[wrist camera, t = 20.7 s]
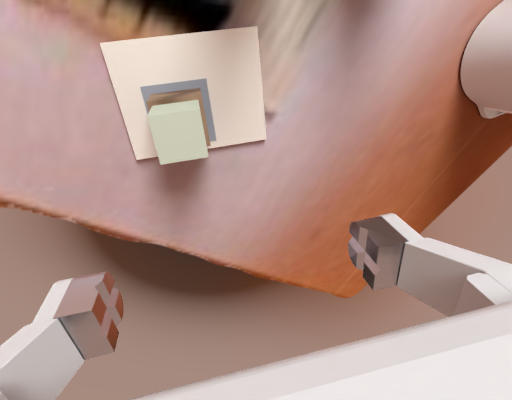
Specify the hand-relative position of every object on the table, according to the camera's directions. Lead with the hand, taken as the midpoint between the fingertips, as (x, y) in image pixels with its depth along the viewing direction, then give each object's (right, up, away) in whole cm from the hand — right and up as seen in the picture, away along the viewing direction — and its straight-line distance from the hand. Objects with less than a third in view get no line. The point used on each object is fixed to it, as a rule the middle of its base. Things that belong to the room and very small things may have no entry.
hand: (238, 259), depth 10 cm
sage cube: (-8, +11, +24) cm, 27 cm away
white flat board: (-8, +15, +28) cm, 33 cm away
